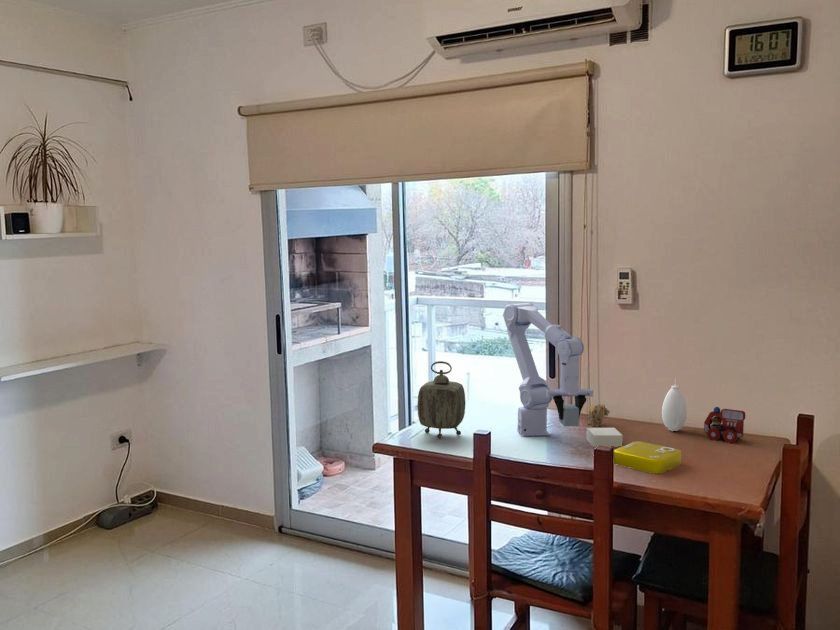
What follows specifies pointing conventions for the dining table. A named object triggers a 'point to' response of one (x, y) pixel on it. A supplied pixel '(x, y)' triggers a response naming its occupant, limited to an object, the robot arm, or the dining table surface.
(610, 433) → the base block
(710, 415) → the toy fire truck
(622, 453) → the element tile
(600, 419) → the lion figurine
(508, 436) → the dining table surface
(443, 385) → the tabletop clock
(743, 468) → the dining table surface
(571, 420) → the grey block
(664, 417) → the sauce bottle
